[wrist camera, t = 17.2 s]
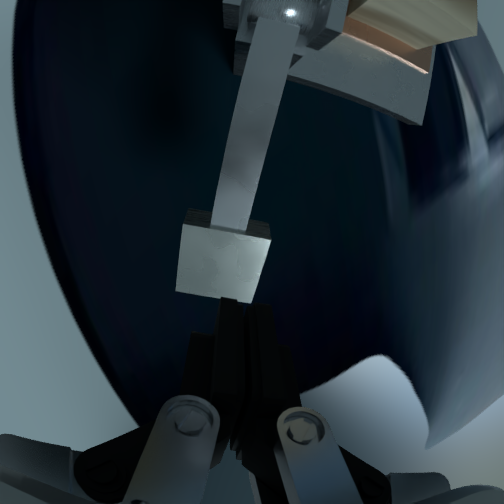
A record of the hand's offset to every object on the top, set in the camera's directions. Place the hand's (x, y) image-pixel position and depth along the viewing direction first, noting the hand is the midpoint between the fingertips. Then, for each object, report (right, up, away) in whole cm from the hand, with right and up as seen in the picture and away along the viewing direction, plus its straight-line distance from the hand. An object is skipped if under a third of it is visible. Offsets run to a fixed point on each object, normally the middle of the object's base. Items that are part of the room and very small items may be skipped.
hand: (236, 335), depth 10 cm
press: (+8, +22, +6) cm, 24 cm away
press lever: (+1, +10, +2) cm, 11 cm away
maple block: (+11, +21, +4) cm, 24 cm away
